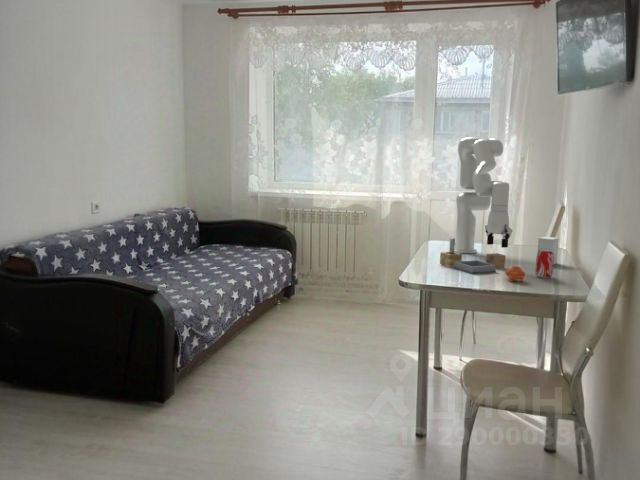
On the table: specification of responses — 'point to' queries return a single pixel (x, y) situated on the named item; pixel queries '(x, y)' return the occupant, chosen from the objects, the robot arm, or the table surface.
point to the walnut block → (496, 260)
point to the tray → (475, 266)
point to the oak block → (449, 258)
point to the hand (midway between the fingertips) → (497, 245)
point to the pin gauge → (452, 245)
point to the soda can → (544, 263)
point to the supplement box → (549, 245)
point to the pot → (515, 273)
